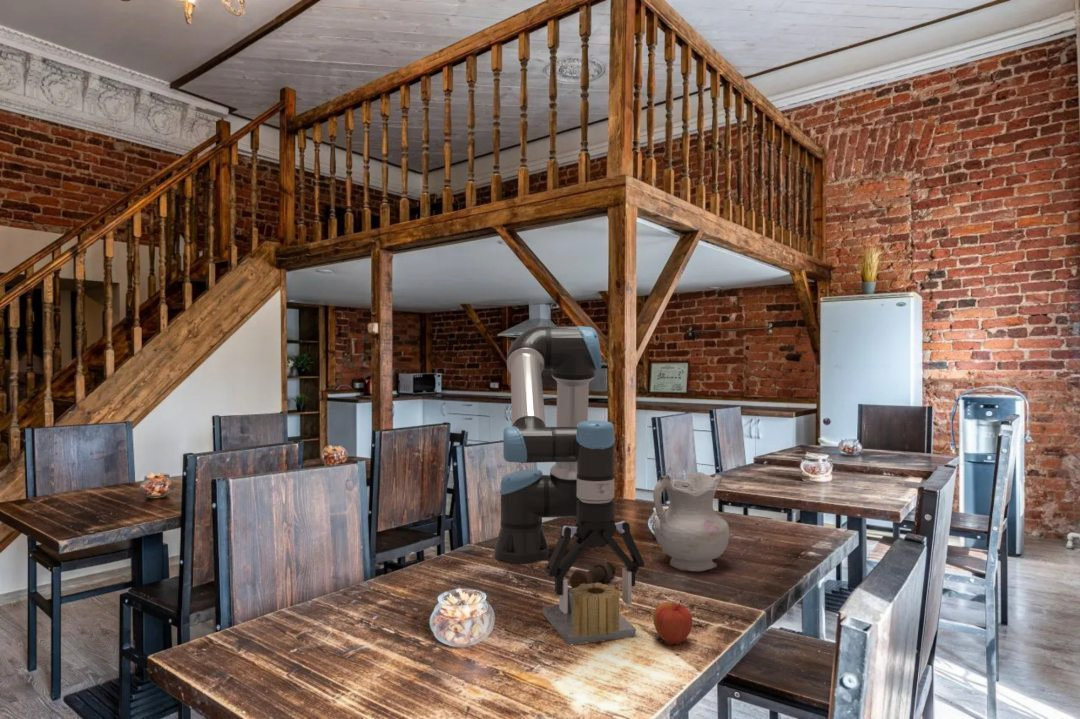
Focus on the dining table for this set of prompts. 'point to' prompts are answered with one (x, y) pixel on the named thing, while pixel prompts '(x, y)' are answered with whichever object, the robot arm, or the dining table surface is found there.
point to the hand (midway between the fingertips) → (595, 606)
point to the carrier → (571, 636)
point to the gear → (595, 609)
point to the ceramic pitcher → (690, 522)
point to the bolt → (593, 574)
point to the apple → (672, 622)
